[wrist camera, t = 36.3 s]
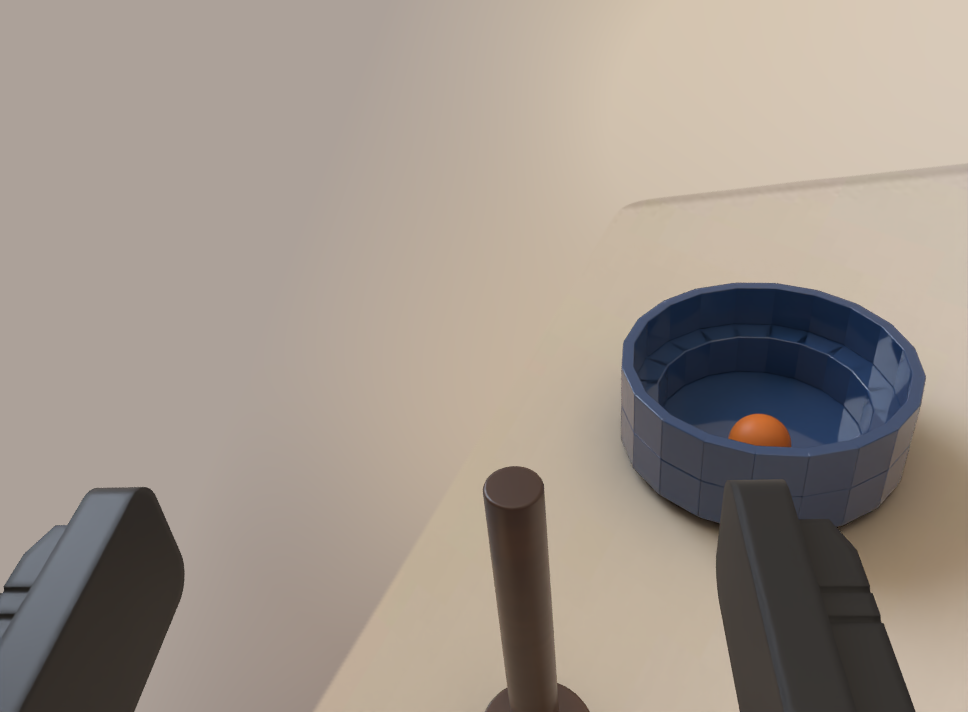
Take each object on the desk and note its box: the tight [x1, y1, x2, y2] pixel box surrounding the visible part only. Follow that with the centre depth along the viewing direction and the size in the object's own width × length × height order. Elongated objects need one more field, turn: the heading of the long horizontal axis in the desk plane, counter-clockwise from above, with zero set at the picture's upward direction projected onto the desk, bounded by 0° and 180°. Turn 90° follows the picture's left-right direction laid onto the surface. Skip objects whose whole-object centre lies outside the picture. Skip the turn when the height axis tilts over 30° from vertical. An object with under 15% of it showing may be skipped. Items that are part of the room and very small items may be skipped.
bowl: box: [621, 283, 926, 527], centre depth 45 cm, size 14×14×6 cm
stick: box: [483, 466, 589, 712], centre depth 30 cm, size 4×4×14 cm
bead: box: [728, 414, 791, 447], centre depth 43 cm, size 3×3×3 cm
